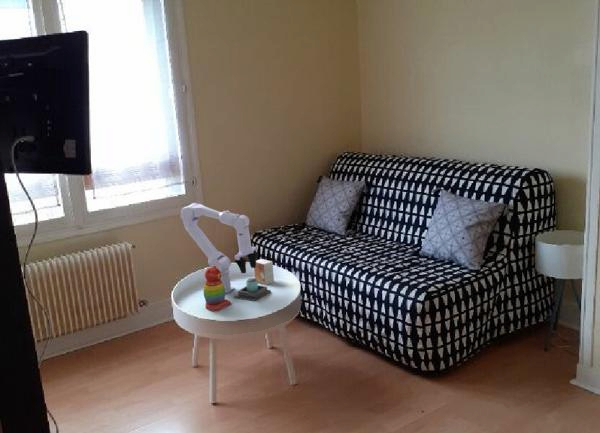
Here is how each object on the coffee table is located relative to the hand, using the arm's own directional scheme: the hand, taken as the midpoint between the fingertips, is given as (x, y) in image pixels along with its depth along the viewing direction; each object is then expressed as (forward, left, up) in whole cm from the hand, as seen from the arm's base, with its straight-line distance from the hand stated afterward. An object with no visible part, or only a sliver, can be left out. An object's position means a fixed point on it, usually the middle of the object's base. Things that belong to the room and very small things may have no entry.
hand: (248, 270), depth 279 cm
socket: (+4, -3, -10) cm, 12 cm away
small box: (-1, +14, -11) cm, 17 cm away
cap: (+4, -3, -9) cm, 11 cm away
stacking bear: (-4, -21, -11) cm, 24 cm away
